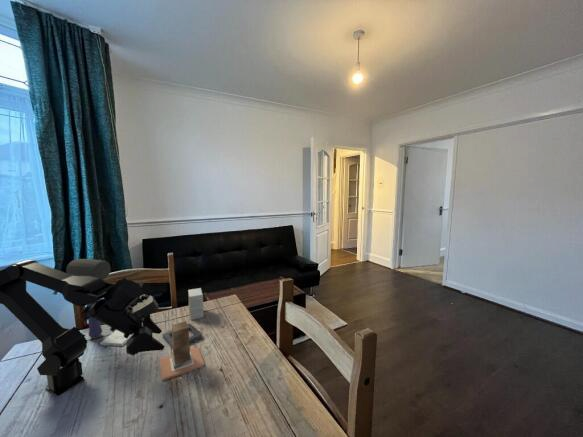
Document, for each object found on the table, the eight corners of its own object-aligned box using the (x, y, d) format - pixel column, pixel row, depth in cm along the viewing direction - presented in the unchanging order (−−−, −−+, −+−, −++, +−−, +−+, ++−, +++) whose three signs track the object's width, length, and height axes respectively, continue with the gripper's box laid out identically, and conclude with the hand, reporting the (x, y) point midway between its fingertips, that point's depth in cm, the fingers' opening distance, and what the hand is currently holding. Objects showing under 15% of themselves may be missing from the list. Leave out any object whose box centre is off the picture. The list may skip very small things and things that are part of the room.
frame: (173, 350, 86) (173, 346, 86) (162, 337, 93) (162, 334, 93) (202, 337, 94) (202, 333, 93) (190, 326, 101) (189, 323, 100)
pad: (162, 380, 73) (162, 378, 73) (159, 360, 81) (159, 358, 81) (204, 365, 79) (204, 363, 79) (198, 348, 87) (198, 346, 87)
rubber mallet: (118, 332, 96) (111, 257, 92) (100, 345, 89) (92, 263, 85) (91, 329, 98) (83, 255, 94) (71, 340, 91) (62, 261, 87)
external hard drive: (144, 327, 101) (122, 347, 88) (125, 326, 101) (100, 346, 89) (144, 324, 100) (121, 343, 88) (125, 323, 101) (99, 342, 89)
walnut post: (174, 369, 77) (171, 332, 75) (172, 359, 81) (170, 324, 79) (191, 362, 79) (190, 327, 78) (189, 353, 84) (187, 320, 82)
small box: (188, 311, 113) (187, 289, 111) (202, 309, 115) (201, 287, 114) (189, 320, 105) (188, 296, 104) (203, 317, 108) (202, 294, 106)
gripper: (138, 305, 63) (186, 332, 71) (138, 280, 79) (177, 305, 86) (102, 343, 60) (156, 368, 68) (109, 310, 76) (152, 333, 83)
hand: (162, 339), depth 76 cm, fingers open, 9 cm apart
